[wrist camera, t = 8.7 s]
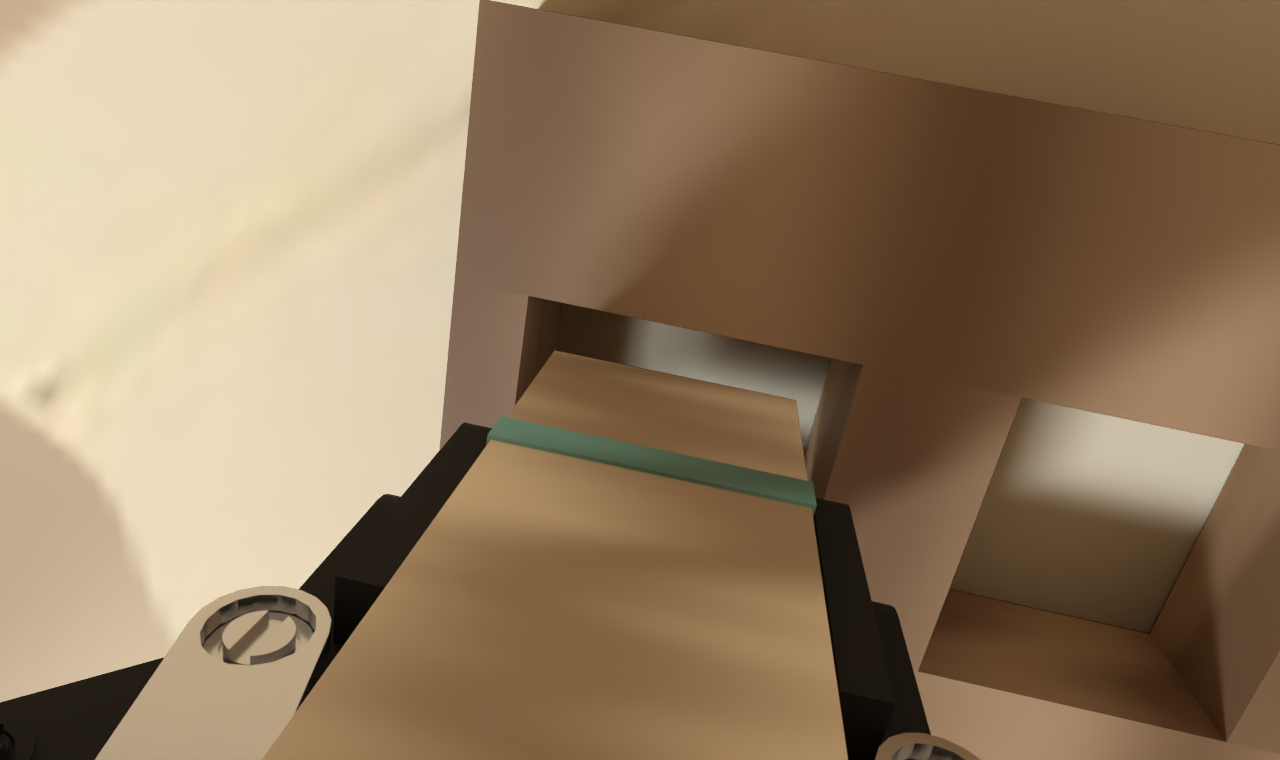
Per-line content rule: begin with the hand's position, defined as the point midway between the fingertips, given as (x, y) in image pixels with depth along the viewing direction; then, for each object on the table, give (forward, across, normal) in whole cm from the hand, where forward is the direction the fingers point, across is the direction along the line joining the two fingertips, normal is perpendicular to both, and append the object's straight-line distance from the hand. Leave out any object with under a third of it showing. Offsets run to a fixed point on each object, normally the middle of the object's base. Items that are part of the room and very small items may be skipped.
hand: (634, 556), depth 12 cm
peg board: (+5, -4, 0) cm, 7 cm away
